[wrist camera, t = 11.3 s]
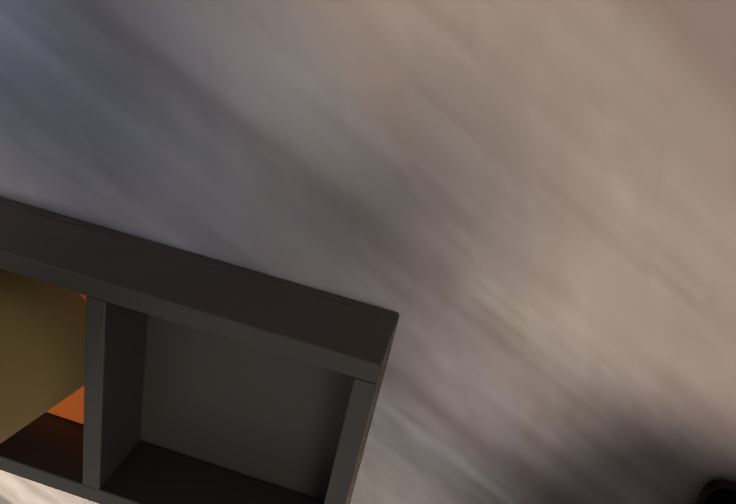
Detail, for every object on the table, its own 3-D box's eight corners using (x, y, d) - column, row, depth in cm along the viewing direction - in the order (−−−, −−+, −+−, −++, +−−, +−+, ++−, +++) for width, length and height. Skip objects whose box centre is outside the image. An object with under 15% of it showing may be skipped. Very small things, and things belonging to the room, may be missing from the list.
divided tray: (-80, 173, 24) (-164, 201, 21) (399, 313, 22) (381, 365, 19) (-59, 379, 28) (-126, 427, 25) (346, 513, 26) (325, 582, 23)
